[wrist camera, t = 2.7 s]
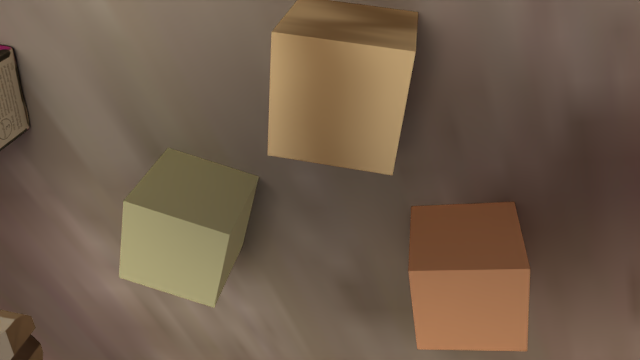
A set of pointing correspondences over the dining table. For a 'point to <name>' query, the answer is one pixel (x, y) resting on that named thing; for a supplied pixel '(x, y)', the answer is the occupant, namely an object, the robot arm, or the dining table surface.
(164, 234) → the sage block
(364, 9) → the maple block
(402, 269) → the dining table surface
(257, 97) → the dining table surface
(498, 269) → the terracotta block
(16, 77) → the candy bar box
